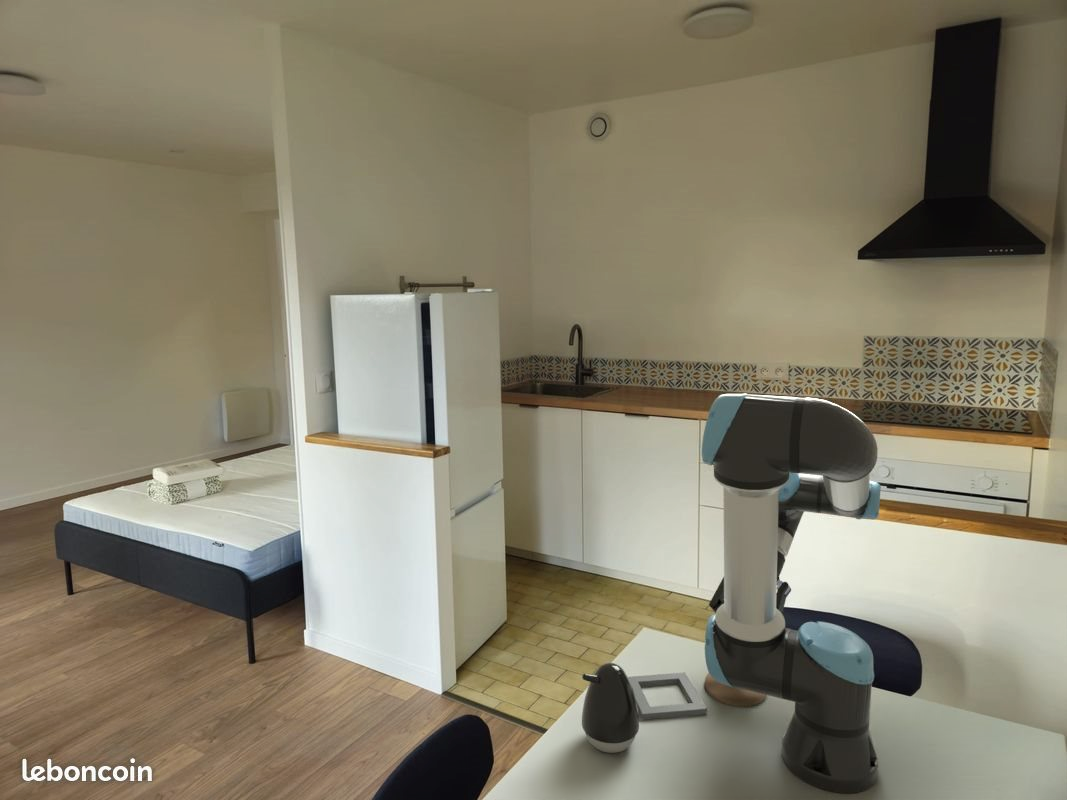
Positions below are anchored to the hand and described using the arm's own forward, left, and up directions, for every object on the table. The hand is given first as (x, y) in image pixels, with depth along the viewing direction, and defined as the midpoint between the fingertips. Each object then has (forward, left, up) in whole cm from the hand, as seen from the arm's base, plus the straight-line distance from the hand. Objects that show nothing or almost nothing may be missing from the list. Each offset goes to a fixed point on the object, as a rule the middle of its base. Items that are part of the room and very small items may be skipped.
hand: (728, 652), depth 137 cm
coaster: (+2, -2, -9) cm, 10 cm away
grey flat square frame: (+1, +13, -9) cm, 16 cm away
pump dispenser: (-11, +27, -9) cm, 30 cm away
